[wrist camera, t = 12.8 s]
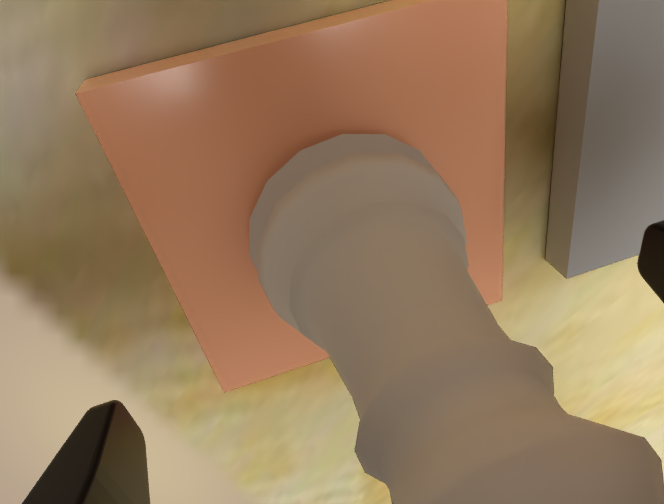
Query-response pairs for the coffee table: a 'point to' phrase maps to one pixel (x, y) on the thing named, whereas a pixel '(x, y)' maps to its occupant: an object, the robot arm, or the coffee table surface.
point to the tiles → (378, 118)
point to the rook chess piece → (426, 338)
